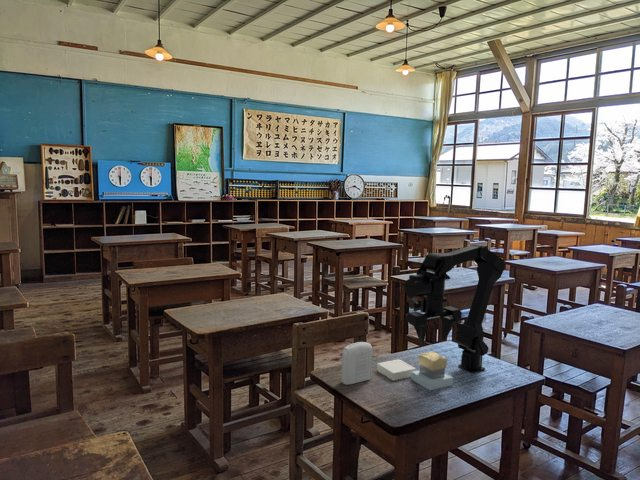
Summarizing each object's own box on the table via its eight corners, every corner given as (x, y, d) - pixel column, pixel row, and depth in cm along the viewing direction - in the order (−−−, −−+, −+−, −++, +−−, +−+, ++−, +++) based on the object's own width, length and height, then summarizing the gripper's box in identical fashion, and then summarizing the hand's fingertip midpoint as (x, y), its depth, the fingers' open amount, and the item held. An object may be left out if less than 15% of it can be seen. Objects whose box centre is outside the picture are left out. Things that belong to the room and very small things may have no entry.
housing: (445, 376, 151) (446, 358, 150) (431, 380, 148) (432, 361, 147) (431, 369, 156) (432, 351, 156) (418, 372, 154) (419, 354, 153)
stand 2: (433, 374, 159) (433, 367, 158) (452, 385, 151) (452, 377, 150) (411, 379, 154) (411, 371, 154) (429, 390, 147) (430, 382, 146)
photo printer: (364, 375, 157) (366, 338, 156) (373, 379, 154) (374, 342, 152) (339, 381, 152) (340, 343, 150) (347, 386, 148) (348, 347, 146)
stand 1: (398, 366, 165) (399, 359, 165) (415, 375, 157) (415, 368, 157) (377, 370, 161) (377, 363, 161) (393, 380, 153) (393, 373, 153)
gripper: (439, 285, 163) (437, 330, 165) (395, 291, 154) (393, 338, 156) (464, 293, 153) (461, 340, 155) (418, 299, 144) (416, 349, 147)
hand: (432, 341), depth 154 cm, fingers open, 9 cm apart
